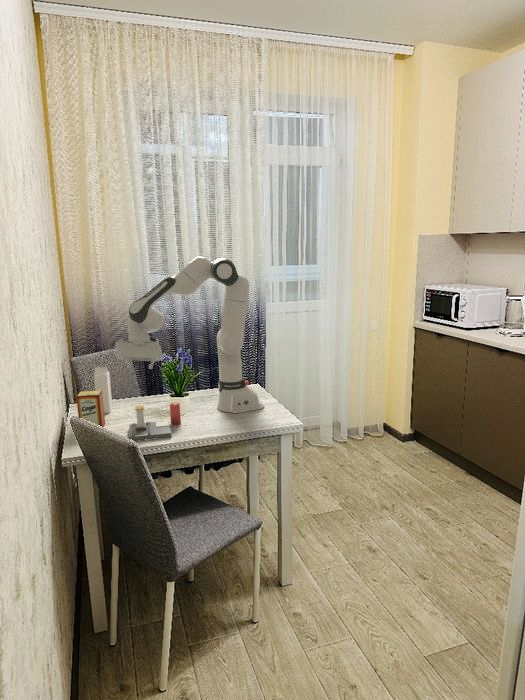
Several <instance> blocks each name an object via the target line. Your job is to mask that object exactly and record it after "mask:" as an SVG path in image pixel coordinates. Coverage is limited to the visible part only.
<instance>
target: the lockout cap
mask: <svg viewBox="0 0 525 700" xmlns="http://www.w3.org/2000/svg"><path fill="white" fill-rule="evenodd" d="M180 405H181V403H180V402H171V403H169V414H170V426H171V425H172V426H178V425H181V423H182V421H181V406H180Z"/></svg>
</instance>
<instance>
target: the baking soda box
mask: <svg viewBox="0 0 525 700" xmlns="http://www.w3.org/2000/svg"><path fill="white" fill-rule="evenodd" d="M75 397H76V407H77V415H78V416H77V417H78V419H79V418H83V419H85V420H87V421H90V422H92V423H95V424H97V425H100V426H102V427H103V428H104V427H105V425H106V418H105V413H104V405H103V394H102V391H95V390H89V391H88V390H87V391H79V392H78V394H77V395H76V396H75Z"/></svg>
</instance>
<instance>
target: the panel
mask: <svg viewBox="0 0 525 700" xmlns="http://www.w3.org/2000/svg"><path fill="white" fill-rule="evenodd" d="M145 423H146V427H147V429H142V430H136V424H137V423H136V422H133V423H130V424H129V426H128V440H129V439H132V440H134V441H133V442H139V441H138V440H142V441H146V440H145V439H152V440H155V439H154V438H161V439H166V438H165V437H170V438H172V431H171V430H172V429H171V423H170V420H163V421H162V420H160V421H159V420H158V421H146V422H145Z"/></svg>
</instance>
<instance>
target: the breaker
mask: <svg viewBox="0 0 525 700" xmlns="http://www.w3.org/2000/svg"><path fill="white" fill-rule="evenodd" d="M134 409H135V411H136V421H137V423H136V430H142V429H147V427H146V422H145V415H144V413H145V412H144V411H145V405H136V406H135V408H134Z"/></svg>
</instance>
